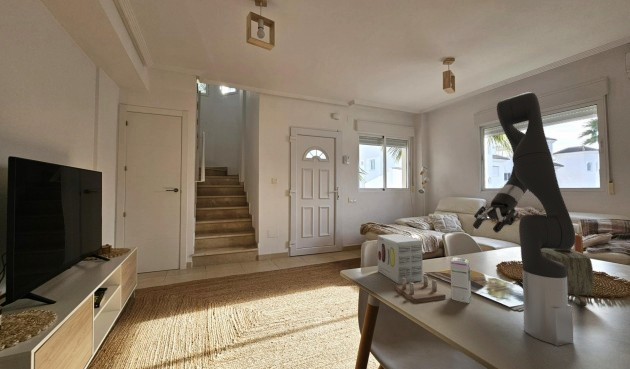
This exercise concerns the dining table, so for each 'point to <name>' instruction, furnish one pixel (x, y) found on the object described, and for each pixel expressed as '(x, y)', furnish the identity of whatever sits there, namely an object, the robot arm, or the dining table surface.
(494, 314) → the dining table surface
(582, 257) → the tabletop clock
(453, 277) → the syrup box
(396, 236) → the supplement box
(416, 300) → the pin tray
